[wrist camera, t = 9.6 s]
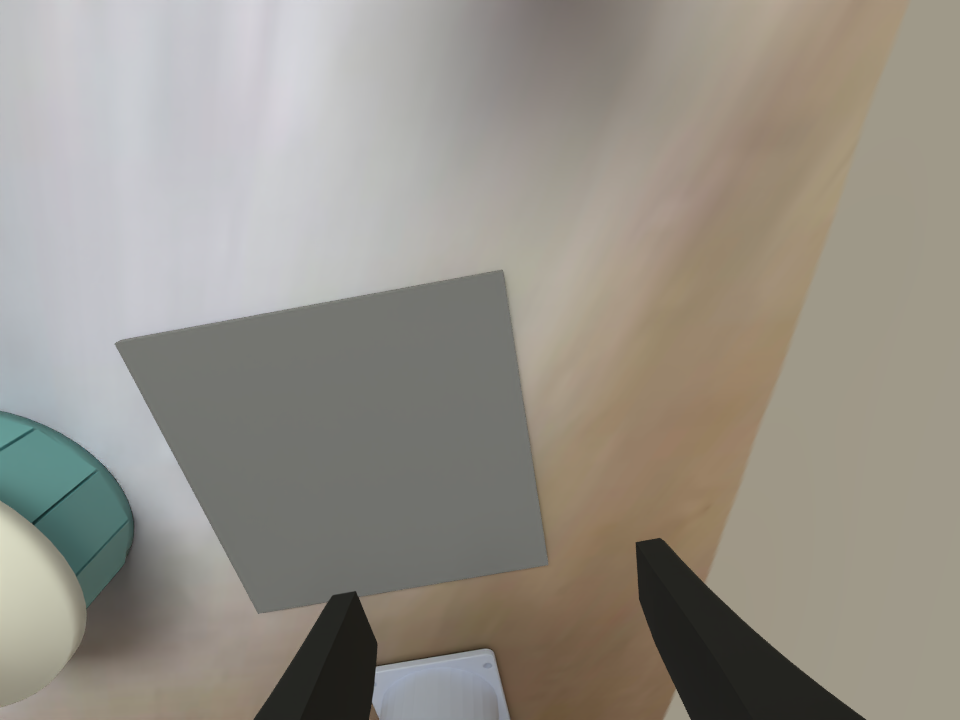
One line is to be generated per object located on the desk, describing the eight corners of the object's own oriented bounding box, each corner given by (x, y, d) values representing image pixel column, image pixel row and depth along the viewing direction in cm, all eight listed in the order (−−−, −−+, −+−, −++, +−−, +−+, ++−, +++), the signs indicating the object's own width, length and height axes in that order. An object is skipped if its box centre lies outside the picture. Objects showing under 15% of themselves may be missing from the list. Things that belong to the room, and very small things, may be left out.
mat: (547, 558, 24) (548, 564, 24) (261, 607, 25) (258, 613, 24) (502, 269, 18) (503, 271, 18) (121, 339, 19) (114, 343, 18)
